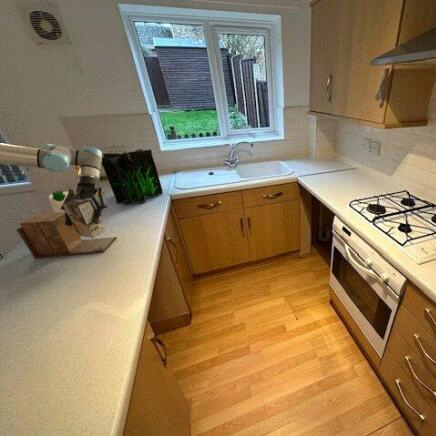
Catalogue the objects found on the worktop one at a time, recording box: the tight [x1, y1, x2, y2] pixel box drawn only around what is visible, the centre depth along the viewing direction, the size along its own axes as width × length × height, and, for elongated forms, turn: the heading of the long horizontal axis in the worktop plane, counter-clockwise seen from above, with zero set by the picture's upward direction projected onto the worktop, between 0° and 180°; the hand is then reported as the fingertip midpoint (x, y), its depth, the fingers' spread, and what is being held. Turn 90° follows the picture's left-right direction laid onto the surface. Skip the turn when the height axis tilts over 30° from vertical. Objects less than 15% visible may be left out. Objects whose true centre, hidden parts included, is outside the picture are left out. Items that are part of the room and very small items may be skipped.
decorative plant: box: [101, 148, 164, 206], centre depth 162 cm, size 29×30×30 cm
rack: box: [16, 211, 117, 260], centre depth 108 cm, size 28×12×17 cm, turn 99°
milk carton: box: [48, 190, 68, 213], centre depth 128 cm, size 9×9×20 cm
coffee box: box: [63, 198, 106, 239], centre depth 106 cm, size 9×6×16 cm
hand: (82, 224), depth 104 cm, fingers closed on coffee box, 10 cm apart
